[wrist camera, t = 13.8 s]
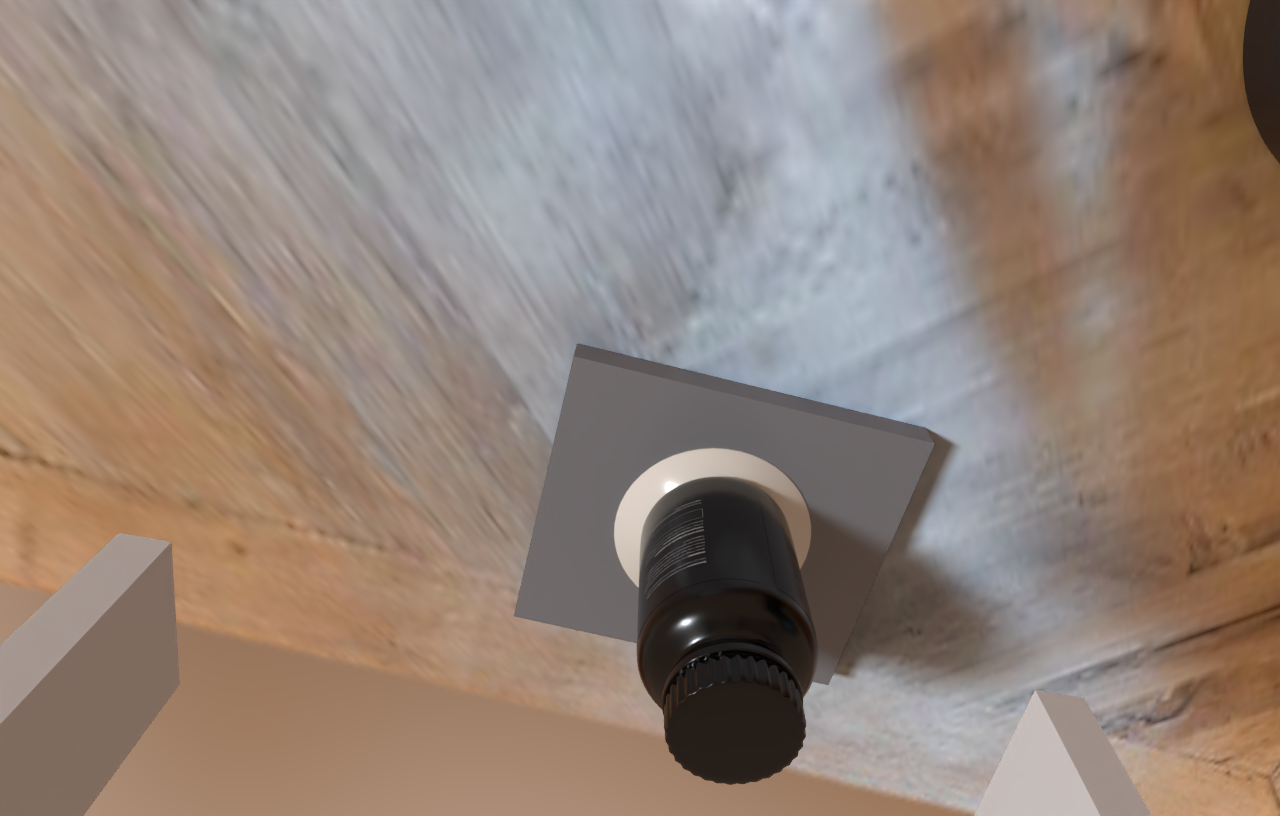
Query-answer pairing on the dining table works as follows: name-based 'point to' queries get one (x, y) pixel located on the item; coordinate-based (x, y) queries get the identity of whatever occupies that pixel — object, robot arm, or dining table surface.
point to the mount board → (710, 447)
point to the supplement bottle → (725, 629)
